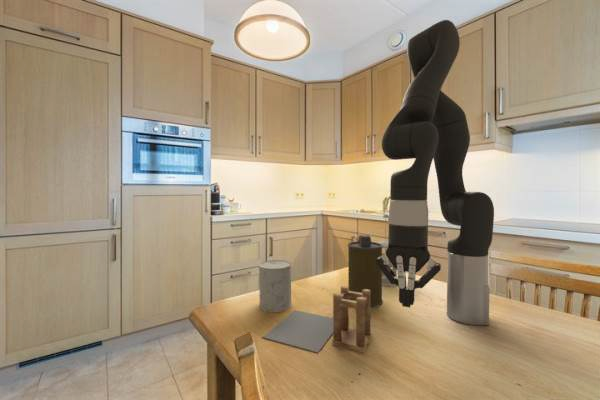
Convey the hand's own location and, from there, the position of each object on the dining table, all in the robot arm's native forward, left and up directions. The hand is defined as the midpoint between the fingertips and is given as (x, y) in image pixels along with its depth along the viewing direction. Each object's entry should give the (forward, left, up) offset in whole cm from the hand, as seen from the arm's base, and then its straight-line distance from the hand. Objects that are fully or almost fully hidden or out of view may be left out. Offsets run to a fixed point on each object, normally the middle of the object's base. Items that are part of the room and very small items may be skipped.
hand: (406, 305), depth 57 cm
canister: (+14, -24, -10) cm, 30 cm away
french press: (+12, -44, -10) cm, 47 cm away
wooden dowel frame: (+11, 0, -10) cm, 15 cm away
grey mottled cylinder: (+37, -9, -10) cm, 40 cm away
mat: (+23, 0, -10) cm, 26 cm away
